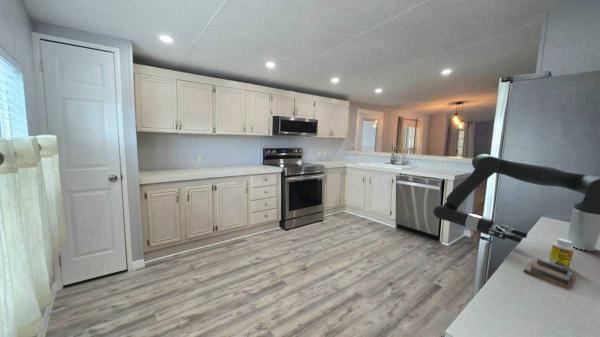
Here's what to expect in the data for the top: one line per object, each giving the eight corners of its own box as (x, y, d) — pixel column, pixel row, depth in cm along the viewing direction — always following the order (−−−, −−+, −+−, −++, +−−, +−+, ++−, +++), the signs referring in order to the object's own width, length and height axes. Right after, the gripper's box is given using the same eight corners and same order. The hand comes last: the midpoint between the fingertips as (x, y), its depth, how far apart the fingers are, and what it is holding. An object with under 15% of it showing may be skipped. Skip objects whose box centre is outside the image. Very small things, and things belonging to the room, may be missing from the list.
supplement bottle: (554, 266, 91) (561, 242, 89) (544, 259, 96) (550, 235, 95) (573, 270, 90) (580, 244, 88) (562, 262, 95) (568, 238, 93)
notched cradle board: (532, 262, 93) (533, 256, 93) (574, 277, 84) (575, 271, 84) (523, 271, 87) (524, 265, 86) (567, 289, 78) (569, 282, 77)
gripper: (474, 219, 109) (521, 233, 96) (486, 214, 117) (530, 226, 104) (471, 234, 111) (516, 250, 98) (483, 228, 119) (526, 242, 106)
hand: (523, 237), depth 101 cm, fingers open, 8 cm apart
